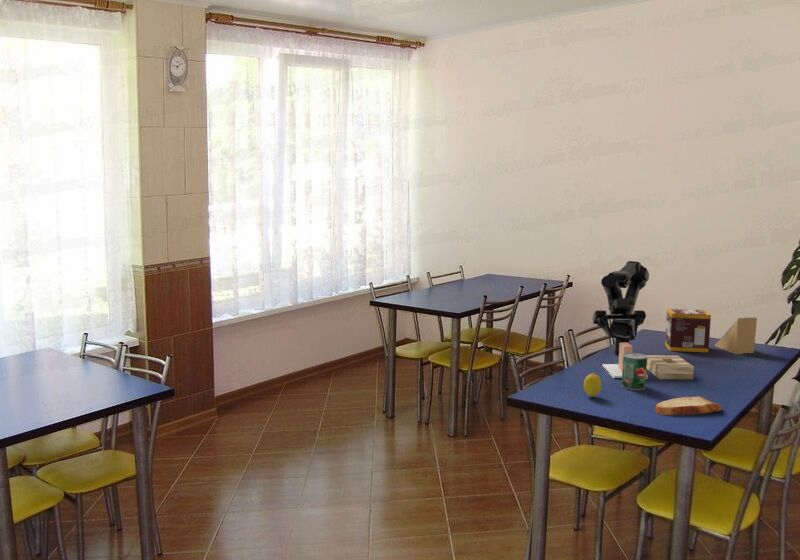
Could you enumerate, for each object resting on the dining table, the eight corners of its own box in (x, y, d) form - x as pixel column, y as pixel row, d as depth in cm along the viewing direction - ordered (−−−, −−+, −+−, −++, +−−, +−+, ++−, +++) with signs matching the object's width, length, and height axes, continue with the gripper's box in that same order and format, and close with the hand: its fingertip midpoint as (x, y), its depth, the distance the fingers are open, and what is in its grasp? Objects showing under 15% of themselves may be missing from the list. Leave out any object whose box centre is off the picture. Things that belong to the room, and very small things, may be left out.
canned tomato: (644, 391, 261) (646, 359, 259) (620, 388, 264) (622, 357, 262) (646, 385, 268) (647, 353, 267) (622, 382, 271) (624, 351, 269)
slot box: (645, 367, 292) (645, 355, 291) (677, 367, 292) (678, 355, 291) (659, 379, 276) (659, 366, 275) (693, 379, 276) (693, 366, 275)
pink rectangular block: (618, 367, 287) (619, 342, 285) (626, 367, 287) (627, 342, 285) (622, 372, 281) (624, 346, 279) (631, 372, 281) (632, 346, 279)
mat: (602, 366, 292) (602, 364, 292) (634, 367, 292) (634, 364, 292) (613, 378, 276) (613, 375, 276) (647, 378, 276) (647, 376, 276)
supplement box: (664, 345, 327) (666, 308, 325) (702, 346, 325) (705, 309, 323) (669, 351, 317) (671, 313, 315) (708, 352, 315) (711, 314, 313)
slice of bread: (651, 414, 239) (651, 402, 238) (665, 399, 254) (665, 387, 253) (713, 424, 230) (714, 412, 229) (724, 408, 245) (724, 397, 244)
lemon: (581, 394, 257) (582, 370, 256) (598, 394, 257) (599, 371, 256) (585, 399, 252) (586, 375, 250) (602, 399, 251) (603, 375, 250)
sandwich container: (732, 345, 329) (734, 310, 327) (754, 354, 314) (757, 317, 312) (713, 345, 327) (715, 310, 325) (735, 354, 312) (738, 318, 310)
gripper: (595, 289, 290) (602, 324, 280) (646, 289, 290) (654, 324, 281) (589, 305, 299) (595, 340, 289) (638, 306, 299) (645, 341, 290)
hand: (622, 336), depth 287 cm, fingers open, 9 cm apart
